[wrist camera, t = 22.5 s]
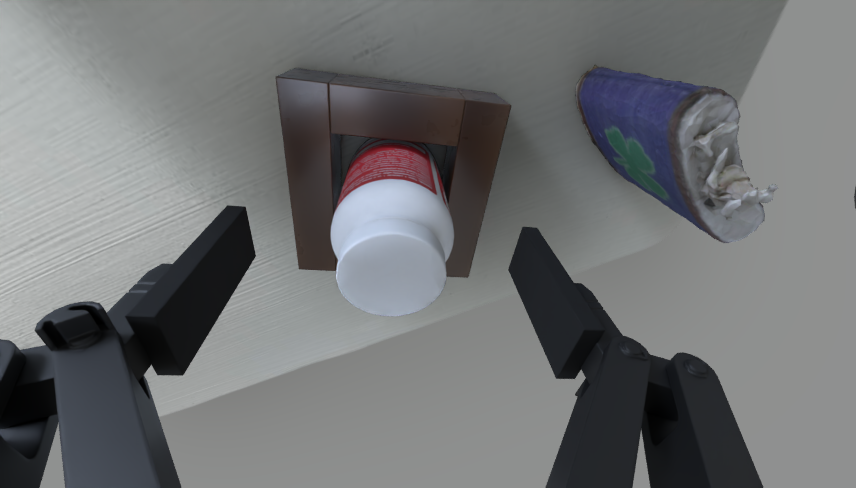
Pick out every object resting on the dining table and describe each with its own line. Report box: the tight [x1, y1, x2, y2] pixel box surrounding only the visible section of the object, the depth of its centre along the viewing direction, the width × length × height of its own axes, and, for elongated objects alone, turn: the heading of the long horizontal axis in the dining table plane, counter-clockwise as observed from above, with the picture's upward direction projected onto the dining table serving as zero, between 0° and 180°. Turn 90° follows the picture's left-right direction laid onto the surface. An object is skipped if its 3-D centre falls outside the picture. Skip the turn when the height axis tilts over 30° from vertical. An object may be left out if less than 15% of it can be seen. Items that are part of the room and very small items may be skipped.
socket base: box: [276, 68, 511, 278], centre depth 21 cm, size 12×12×4 cm
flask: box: [575, 65, 777, 243], centre depth 18 cm, size 9×3×11 cm, turn 41°
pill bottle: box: [331, 138, 454, 316], centre depth 18 cm, size 6×6×11 cm
